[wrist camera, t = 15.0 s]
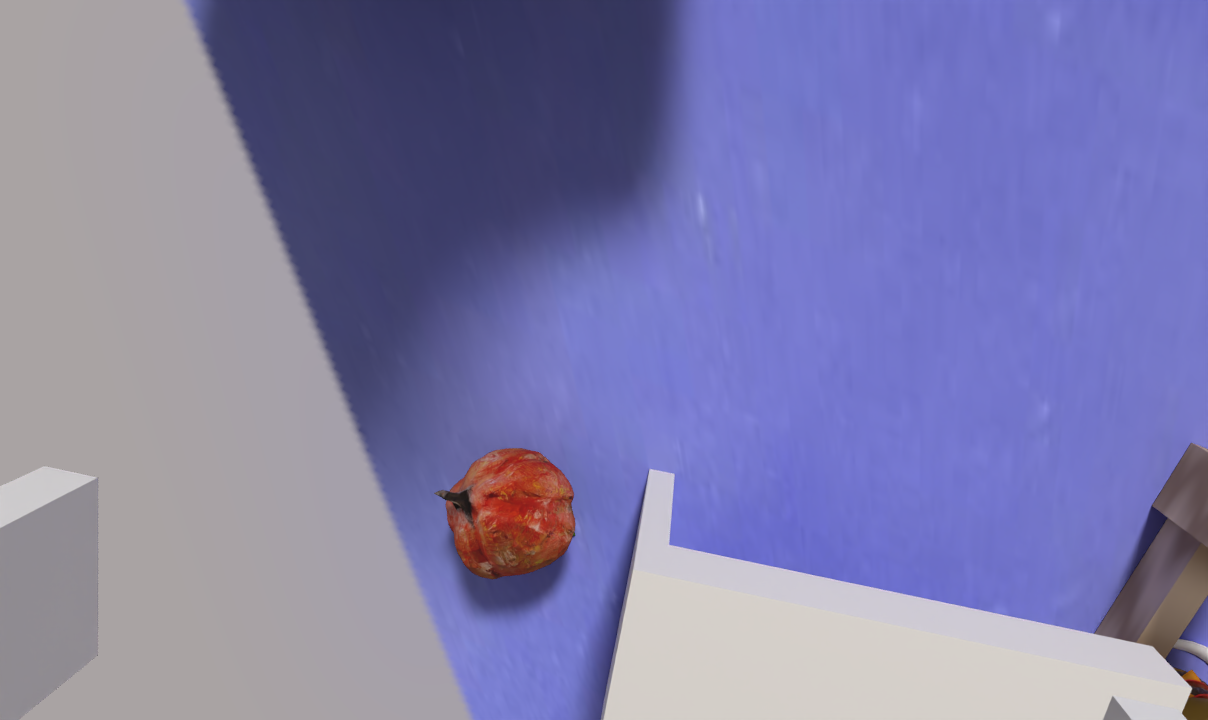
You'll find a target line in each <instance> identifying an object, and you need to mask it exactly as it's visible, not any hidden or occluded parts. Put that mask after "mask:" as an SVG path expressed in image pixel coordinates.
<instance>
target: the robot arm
mask: <svg viewBox="0 0 1208 720" xmlns="http://www.w3.org/2000/svg"><path fill="white" fill-rule="evenodd" d="M96 656H98V477H94V476H89V475H84V474H80V473H75V472H70V471H66V470H61V469H56V468H52V467H47V466H43V467H41V468H39V469H37V470H34V471H32V472H30V473H28V474H26V475H24V476H21V477H19V478H17V479H15V480H13V481H11V482H8V483H6V484H4V485H2V486H0V720H19V719H20V718H21V717H23V716H24V715H25V714H26V713H28V712H29V711H30V710H31V709H32V708H34V707H35V706H36V705H37V704H39V703H40V702H41V701H42V700H44V699H45V698H46V697H47V696H48V695H50V694H51V693H52V692H53V691H55V690H56V689H57V688H58V687H59V686H61V685H62V684H63V683H64V682H66V681H67V680H68V679H69V678H71V677H72V676H73V675H74V674H75V673H77V672H78V671H79V670H80V669H82V668H83V667H84V666H85V665H87V664H88V663H89V662H90V661H91V660H93V659H94V658H95V657H96ZM1103 720H1187V719H1186V718H1185V717H1184V716H1183V714H1182V713H1181V712H1180V711H1179V710H1178V709H1174V708H1169V707H1165V706H1160V705H1155V704H1151V703H1146V702H1141V701H1137V700H1132V699H1127V698H1123V697H1118V696H1112V698H1111V701H1110V703H1109V706H1108V708H1107V711H1106V713H1105V716H1104V718H1103Z"/></svg>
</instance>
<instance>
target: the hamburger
mask: <svg viewBox="0 0 1208 720" xmlns="http://www.w3.org/2000/svg"><path fill="white" fill-rule="evenodd" d="M1173 648H1175V649H1180V650H1184V651H1187V652H1189V653H1192V654H1194V655H1196V656H1198V657H1199V658H1201V659H1203V660H1204V661H1206V662H1207V663H1208V647H1206V646H1203V645H1201V644H1198V643H1196V642H1193V641H1188V640H1183V639H1178V640H1177V642H1176V643H1175V645H1174V646H1173ZM1173 668H1174V667H1173ZM1174 670H1175V671H1176V672H1177V673H1178V674H1179V675H1180V676H1181V677H1182V678H1183V679H1184V680H1185V681H1186V682H1187V683H1188V684H1189V685H1190V686H1191V688H1192V690H1191V693H1190V695H1189V697H1188V700H1187V702H1186V704H1185V707H1184V709H1183V711H1182V714H1183V716H1184V717H1185V718H1186V719H1187V720H1208V685H1207V684H1206V683H1205V682H1204V681H1202V680H1201V679H1200V678H1198V676H1197V675H1196V674H1195V673H1194V671H1193V670H1190V671H1189V672H1185V671H1183V670H1181V669H1177V668H1174Z"/></svg>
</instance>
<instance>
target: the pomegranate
mask: <svg viewBox="0 0 1208 720" xmlns="http://www.w3.org/2000/svg"><path fill="white" fill-rule="evenodd" d="M434 494H436V495H438V496H440V497H442V498H443V499H445V500H447V501H446V509H447V519H448V523H449V526H450V528H451V530H452V531H453V533H454V540H455V546H456V549H457V552H458V554H459V556H460V557H461V559H462V561H463V563H464V565H465V566H466V567H467V568H468V569H469V570H470V571H471V572H472V573H474V574H476V575H478V576H480V577H484V578H489V579H497V578H500V577H502V576H512V575H521V574H526V573H530V572H533V571H535V570H538V569H540V568H542V567H545V566H547V565H550V564H551V563H552V562H554V561H555V560H557V559H558V558H559V557H560V556H562V555H563V554H564V553H565V552H566V550H567V549H568V546H569V544H570V542H571V539H572V537H573V536H575V533H574V531H575V518H574V515H573V511H572V506H571V502H572V500H573V496H574V492H573V490H572V487H571V485H570V483H569V481H568V480H567V478H566V477H565V475H564V474H563V473H562V472H561V470H559V469H558V468H557V467H556V466H554V465H553V464H552V463H551V462H550V461H549V460H548V459H547V458H546V457H544V456H543V455H542V454H541V453H539V452H536V451H531V450H526V449H522V448H512V449H501V450H495V451H492V452H490V453H488V454H486V455H485V456H484V457H482V458H480V459H478V460H477V461H475V462H474V463H473V464H472V465H471V467H470V468H469V470H468V472H467V474H466V475H465V477H464V478H463V479H461V480H460V481H459V482H458V483H457V484H455V485H454V486H453V487H452V488H451V490H450V492H448V491H444V490H441V491H438V492H436V493H434Z"/></svg>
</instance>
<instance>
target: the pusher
mask: <svg viewBox="0 0 1208 720" xmlns="http://www.w3.org/2000/svg"><path fill="white" fill-rule="evenodd" d="M1152 506H1153V507H1154V508H1156V509H1157V510H1158V511H1160V512H1161V513H1162V514H1164V515H1165V516H1166V517H1168V518H1167V520H1166V521H1165V523H1164V525H1163V526H1162V528H1161V529H1160V531H1159V533H1158V534H1157V536H1156V537H1155V539H1154V540H1153V542H1152V544H1151V545H1150V547H1149V548H1148V550H1147V551H1146V553H1145V555H1144V556H1143V558H1142V559H1141V561H1140V562H1139V564H1138V566H1137V567H1136V569H1135V570H1134V572H1133V574H1132V575H1131V577H1130V578H1129V580H1128V581H1127V583H1126V585H1125V586H1124V588H1123V589H1122V591H1121V592H1120V594H1119V596H1118V597H1117V599H1116V600H1115V602H1114V603H1113V605H1112V607H1111V608H1110V610H1109V611H1108V613H1107V615H1106V616H1105V618H1104V619H1103V621H1102V622H1101V624H1100V626H1099V627H1098V629H1097V630H1096V632H1095V633H1094V634H1096V635H1101V636H1106V637H1110V638H1115V639H1120V640H1125V641H1130V642H1134V643H1139V644H1144V645H1149V646H1153V647H1154V648H1155V649H1156V651H1157V652H1158V653H1159V654H1160V655H1161V656H1162V657H1163V658H1164V659H1165V658H1166V657H1167V655H1168V654H1169V652H1170V651H1171V649H1172V648H1173V646H1174V645H1175V643H1176V642H1177V640H1178V639H1179V637H1180V636H1181V634H1182V633H1183V631H1184V630H1185V628H1186V627H1187V626H1188V624H1189V623H1190V621H1191V620H1192V618H1193V617H1194V615H1195V614H1196V612H1197V611H1198V609H1199V608H1200V606H1201V605H1202V603H1203V602H1204V600H1205V599H1206V597H1207V596H1208V449H1206V448H1204V447H1201V446H1198V445H1196V444H1193V443H1191V444H1190V446H1189V447H1188V449H1187V451H1186V452H1185V454H1184V455H1183V457H1182V459H1181V460H1180V462H1179V463H1178V465H1177V467H1176V468H1175V470H1174V471H1173V473H1172V475H1171V476H1170V478H1169V479H1168V481H1167V483H1166V484H1165V486H1164V487H1163V489H1162V491H1161V492H1160V494H1159V495H1158V497H1157V499H1156V500H1155V502H1154V503H1153V505H1152Z"/></svg>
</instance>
